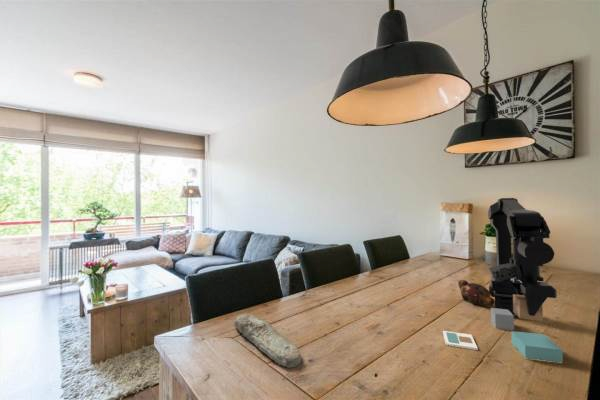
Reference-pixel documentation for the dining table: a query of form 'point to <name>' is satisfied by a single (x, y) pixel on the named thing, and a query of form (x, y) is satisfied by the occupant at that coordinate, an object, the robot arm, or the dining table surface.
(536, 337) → the teal base block
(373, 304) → the dining table surface
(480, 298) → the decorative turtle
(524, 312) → the walnut block
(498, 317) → the slate grey block
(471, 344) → the tile
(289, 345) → the elongated rock
